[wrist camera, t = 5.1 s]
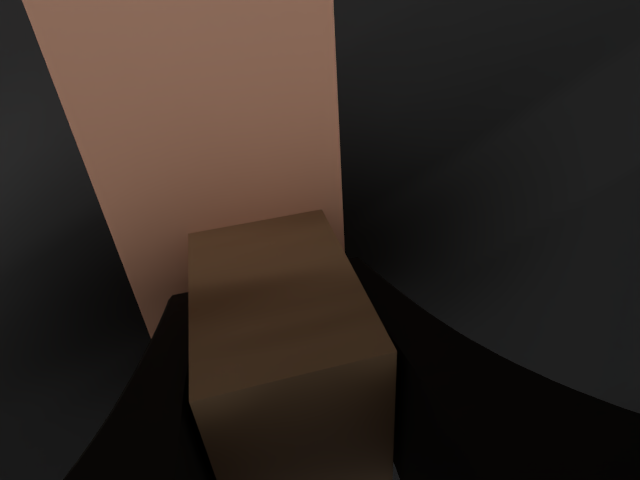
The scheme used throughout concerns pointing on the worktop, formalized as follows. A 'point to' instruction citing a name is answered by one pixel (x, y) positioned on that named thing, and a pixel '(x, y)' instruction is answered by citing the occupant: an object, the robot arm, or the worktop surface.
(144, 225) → the stub
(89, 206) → the worktop surface
